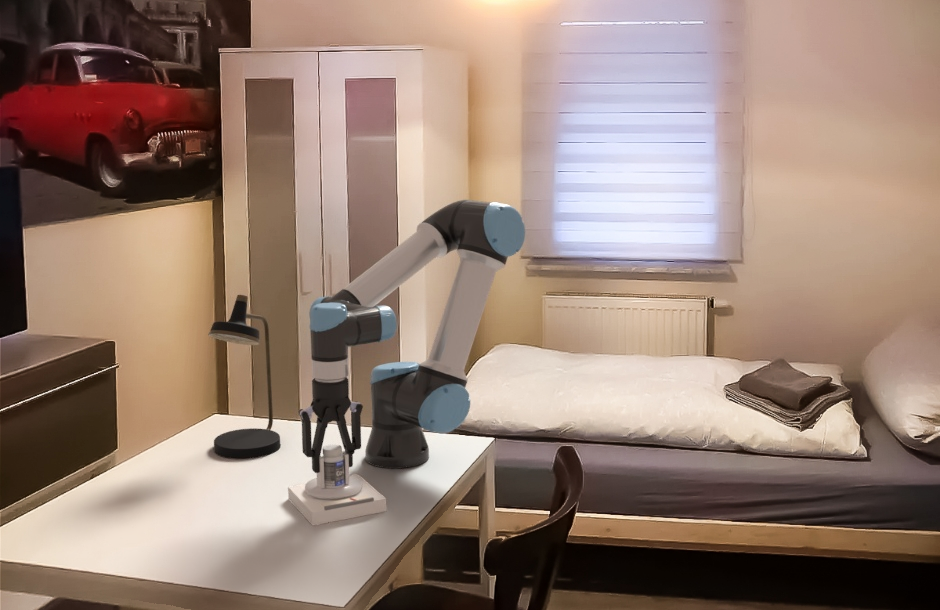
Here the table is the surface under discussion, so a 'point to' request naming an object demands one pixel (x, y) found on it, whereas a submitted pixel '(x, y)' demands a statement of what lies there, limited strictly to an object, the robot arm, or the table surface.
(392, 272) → the robot arm
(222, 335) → the lamp
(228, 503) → the table surface
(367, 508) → the scale
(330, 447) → the pill bottle
